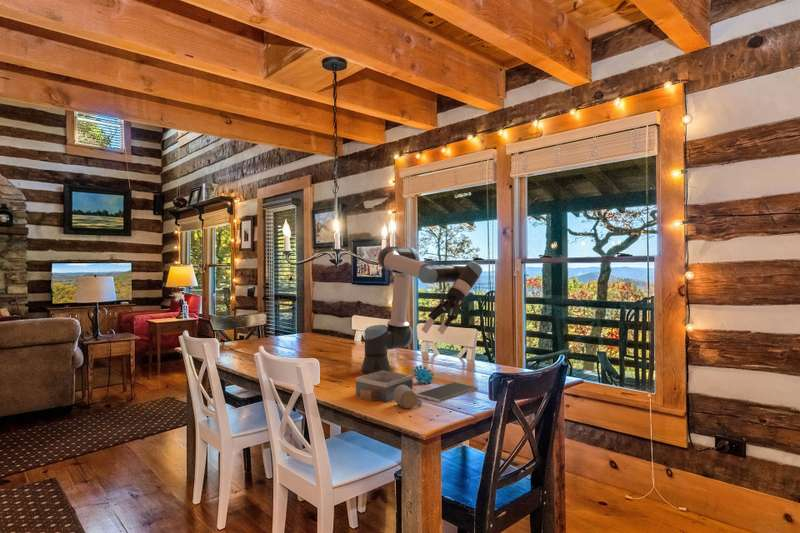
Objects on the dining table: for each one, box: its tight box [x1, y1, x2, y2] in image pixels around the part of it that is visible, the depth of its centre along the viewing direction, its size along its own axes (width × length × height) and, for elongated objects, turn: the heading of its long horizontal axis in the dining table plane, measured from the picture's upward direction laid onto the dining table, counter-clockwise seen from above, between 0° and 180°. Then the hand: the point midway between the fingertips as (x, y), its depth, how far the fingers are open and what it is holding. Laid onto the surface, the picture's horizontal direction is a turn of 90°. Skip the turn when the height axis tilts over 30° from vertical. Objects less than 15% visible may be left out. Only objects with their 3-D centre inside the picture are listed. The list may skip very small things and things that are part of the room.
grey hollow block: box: [355, 370, 413, 403], centre depth 199 cm, size 17×20×8 cm
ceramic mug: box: [393, 385, 423, 410], centre depth 183 cm, size 11×8×8 cm
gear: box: [413, 365, 435, 385], centre depth 220 cm, size 11×6×10 cm
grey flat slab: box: [415, 381, 479, 403], centre depth 201 cm, size 13×27×2 cm, turn 135°
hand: (431, 331), depth 195 cm, fingers open, 13 cm apart
